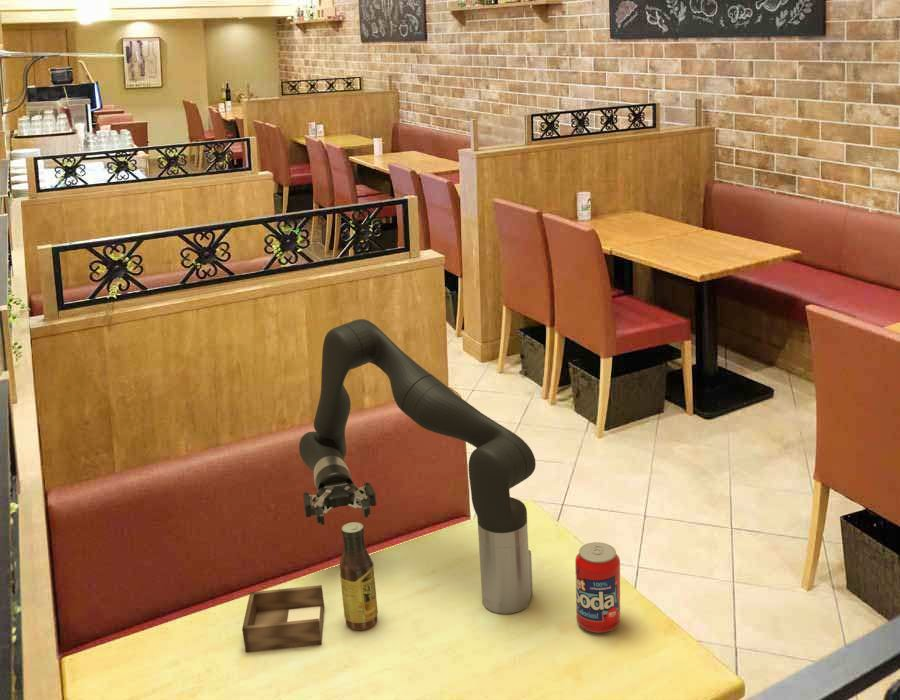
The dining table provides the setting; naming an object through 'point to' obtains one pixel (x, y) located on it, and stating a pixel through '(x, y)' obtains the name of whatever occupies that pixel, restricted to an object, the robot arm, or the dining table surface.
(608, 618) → the soda can
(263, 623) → the box
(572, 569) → the dining table surface
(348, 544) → the sauce bottle
